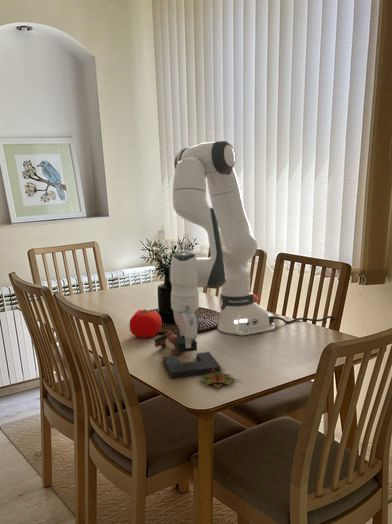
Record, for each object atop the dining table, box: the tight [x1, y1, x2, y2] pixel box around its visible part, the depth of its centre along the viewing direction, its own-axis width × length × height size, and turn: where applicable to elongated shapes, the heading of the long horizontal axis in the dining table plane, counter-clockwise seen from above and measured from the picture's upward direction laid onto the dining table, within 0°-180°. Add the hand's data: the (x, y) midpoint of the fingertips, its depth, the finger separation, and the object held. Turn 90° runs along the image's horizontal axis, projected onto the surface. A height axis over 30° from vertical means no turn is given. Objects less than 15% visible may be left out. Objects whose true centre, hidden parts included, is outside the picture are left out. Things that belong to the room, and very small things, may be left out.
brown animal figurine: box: [153, 330, 181, 356], centre depth 194 cm, size 12×10×8 cm
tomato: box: [129, 308, 163, 339], centre depth 208 cm, size 11×13×10 cm
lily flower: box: [197, 366, 239, 389], centre depth 167 cm, size 12×12×5 cm
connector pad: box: [174, 337, 198, 353], centre depth 180 cm, size 6×6×3 cm
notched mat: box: [162, 351, 222, 379], centre depth 179 cm, size 16×14×2 cm
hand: (185, 343), depth 180 cm, fingers closed on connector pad, 6 cm apart
